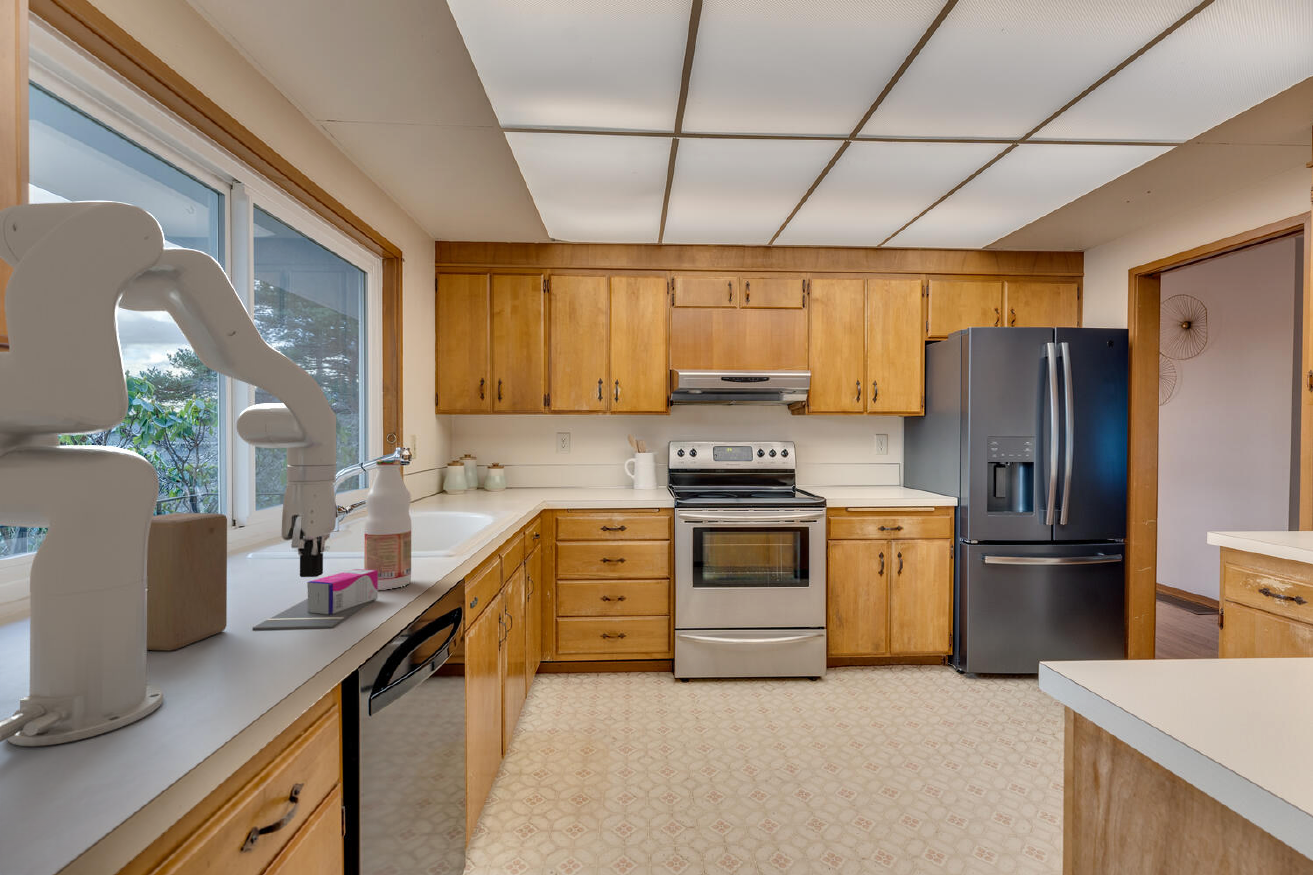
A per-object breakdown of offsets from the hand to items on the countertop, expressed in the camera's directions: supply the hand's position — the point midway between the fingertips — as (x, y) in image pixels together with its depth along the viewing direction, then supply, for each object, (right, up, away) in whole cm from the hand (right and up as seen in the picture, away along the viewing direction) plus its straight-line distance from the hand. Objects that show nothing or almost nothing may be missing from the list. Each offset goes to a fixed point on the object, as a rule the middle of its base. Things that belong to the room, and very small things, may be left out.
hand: (311, 575), depth 100 cm
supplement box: (+1, -4, +1) cm, 4 cm away
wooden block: (-15, -8, -11) cm, 20 cm away
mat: (0, -8, +3) cm, 8 cm away
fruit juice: (+3, -8, +22) cm, 24 cm away
